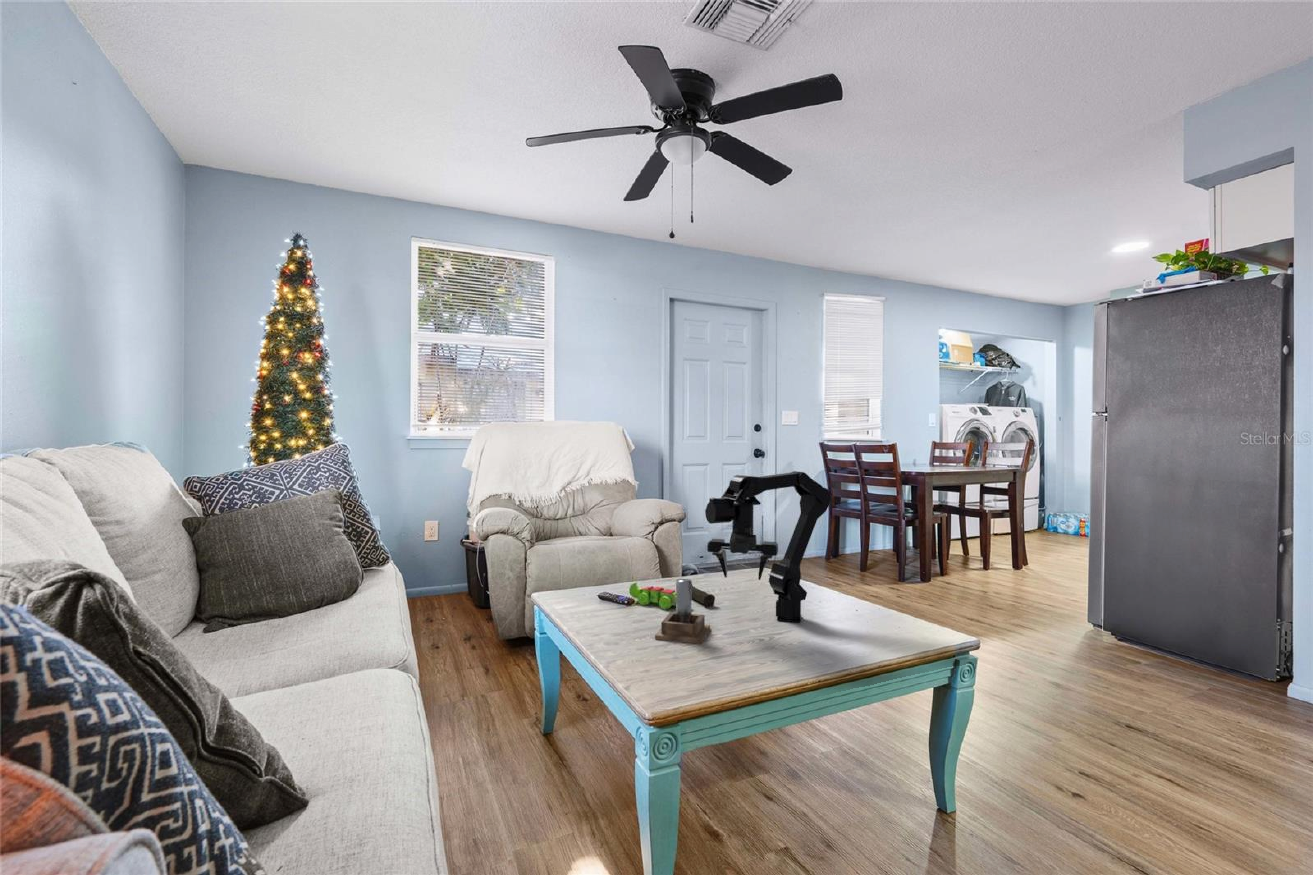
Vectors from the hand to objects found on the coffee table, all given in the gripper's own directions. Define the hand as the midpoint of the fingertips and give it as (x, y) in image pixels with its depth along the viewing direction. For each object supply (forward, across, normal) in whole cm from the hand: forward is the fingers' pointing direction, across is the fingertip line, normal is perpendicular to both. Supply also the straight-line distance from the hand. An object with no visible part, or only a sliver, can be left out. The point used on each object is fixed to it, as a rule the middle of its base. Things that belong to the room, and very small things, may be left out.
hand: (742, 578), depth 164 cm
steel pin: (+12, -14, -11) cm, 21 cm away
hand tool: (+13, -19, +22) cm, 31 cm away
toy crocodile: (+13, -27, +13) cm, 33 cm away
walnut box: (+13, -14, -11) cm, 22 cm away
